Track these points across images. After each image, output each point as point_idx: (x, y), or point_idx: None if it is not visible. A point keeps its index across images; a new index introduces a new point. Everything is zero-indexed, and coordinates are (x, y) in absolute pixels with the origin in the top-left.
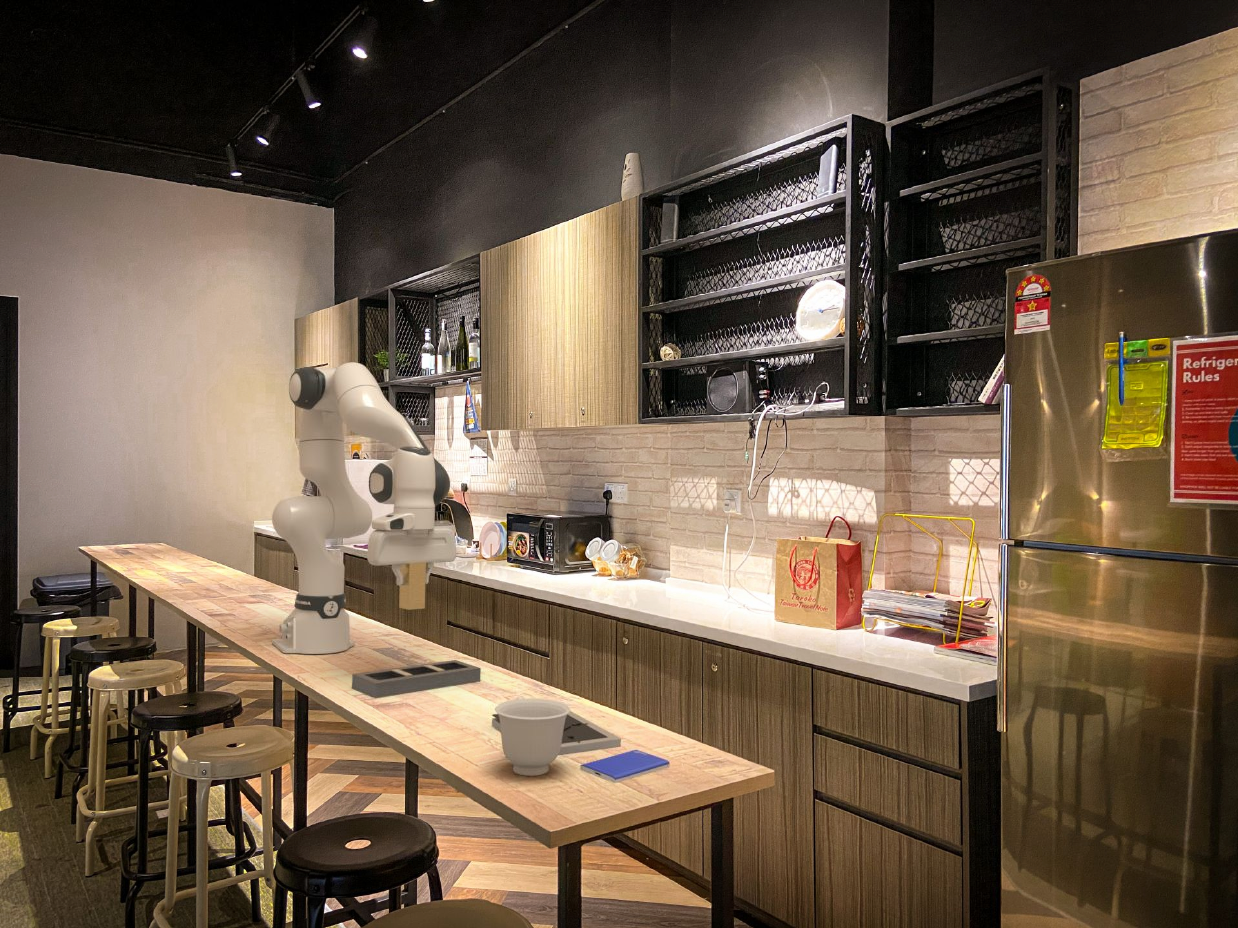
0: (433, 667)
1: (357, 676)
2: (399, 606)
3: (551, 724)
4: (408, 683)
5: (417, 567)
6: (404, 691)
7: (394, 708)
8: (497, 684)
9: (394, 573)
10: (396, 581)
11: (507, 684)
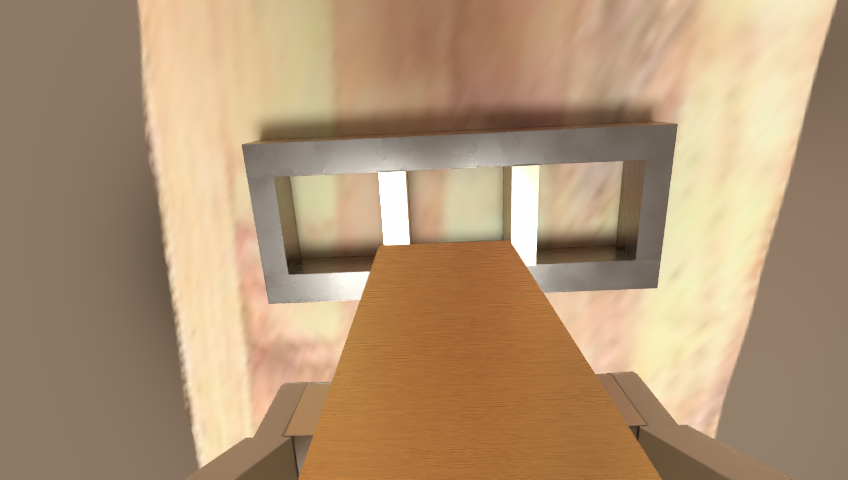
0: (525, 212)
1: (249, 184)
2: (379, 250)
3: None
4: None
5: None
6: None
7: None
8: (650, 325)
9: (198, 477)
10: (275, 397)
11: (672, 339)
